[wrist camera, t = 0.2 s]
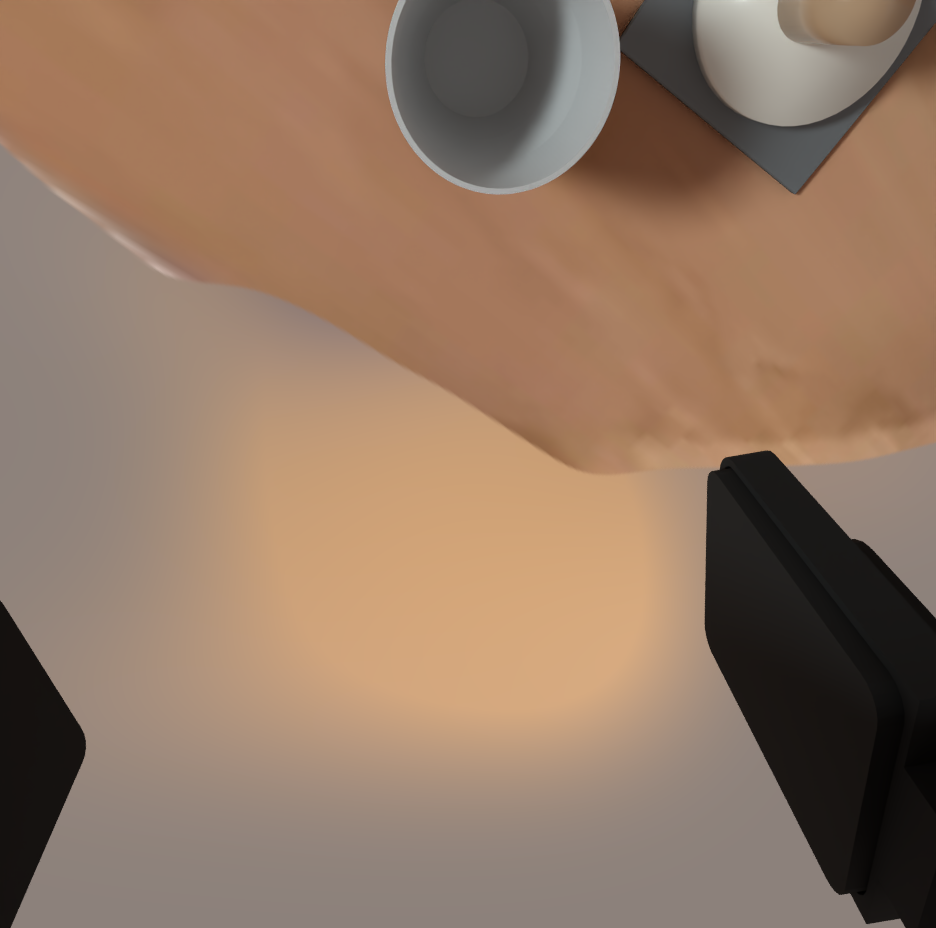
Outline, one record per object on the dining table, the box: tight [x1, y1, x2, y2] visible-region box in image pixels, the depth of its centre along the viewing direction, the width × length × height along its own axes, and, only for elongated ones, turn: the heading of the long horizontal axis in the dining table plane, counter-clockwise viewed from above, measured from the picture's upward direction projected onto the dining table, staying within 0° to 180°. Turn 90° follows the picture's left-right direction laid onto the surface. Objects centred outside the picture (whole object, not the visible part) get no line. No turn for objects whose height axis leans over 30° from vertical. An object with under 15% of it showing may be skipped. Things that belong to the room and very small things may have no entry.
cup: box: [385, 0, 620, 194], centre depth 30 cm, size 8×8×10 cm
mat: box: [619, 0, 936, 194], centre depth 34 cm, size 12×12×1 cm
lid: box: [692, 0, 922, 126], centre depth 31 cm, size 10×10×6 cm
